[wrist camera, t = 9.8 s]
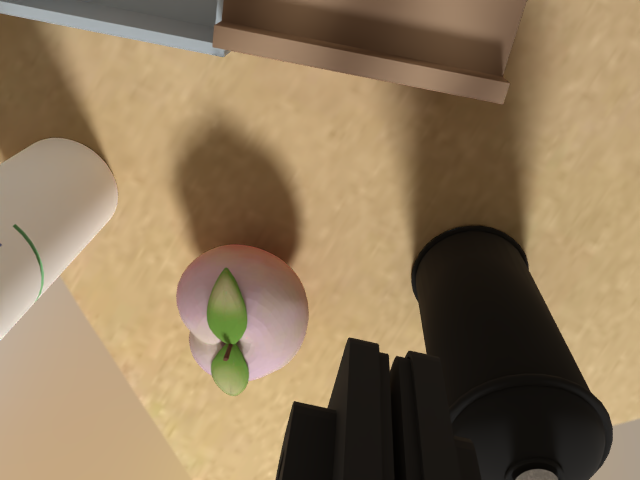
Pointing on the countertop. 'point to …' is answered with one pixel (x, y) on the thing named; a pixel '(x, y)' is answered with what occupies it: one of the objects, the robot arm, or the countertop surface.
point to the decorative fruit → (242, 314)
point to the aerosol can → (506, 361)
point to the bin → (132, 19)
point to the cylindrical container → (47, 217)
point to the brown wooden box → (383, 39)
